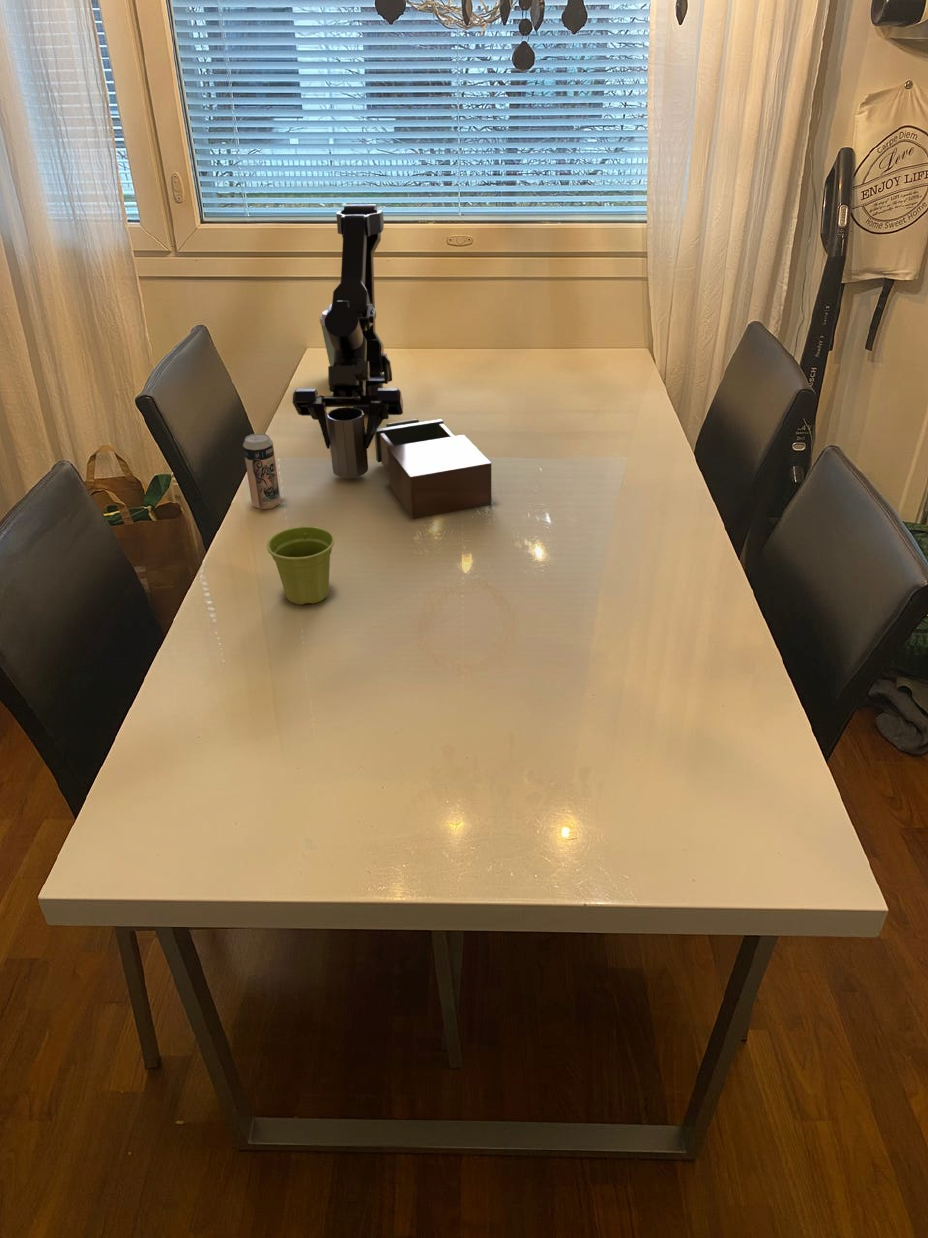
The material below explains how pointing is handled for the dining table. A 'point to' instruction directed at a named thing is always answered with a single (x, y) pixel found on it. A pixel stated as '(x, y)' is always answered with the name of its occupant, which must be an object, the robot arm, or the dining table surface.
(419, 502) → the cabinet
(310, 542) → the plant pot
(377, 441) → the drawer
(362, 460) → the tapered cup
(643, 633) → the dining table surface
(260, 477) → the beer can
